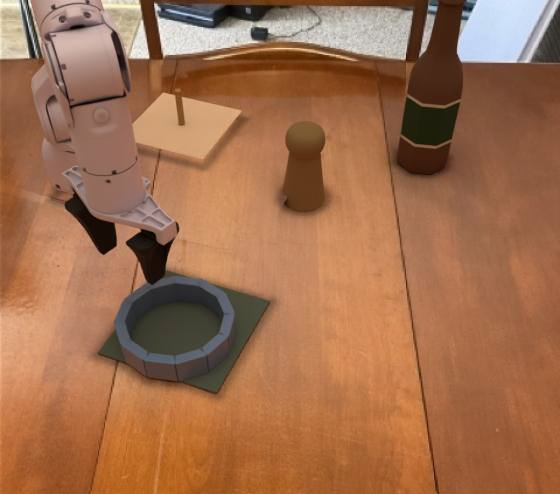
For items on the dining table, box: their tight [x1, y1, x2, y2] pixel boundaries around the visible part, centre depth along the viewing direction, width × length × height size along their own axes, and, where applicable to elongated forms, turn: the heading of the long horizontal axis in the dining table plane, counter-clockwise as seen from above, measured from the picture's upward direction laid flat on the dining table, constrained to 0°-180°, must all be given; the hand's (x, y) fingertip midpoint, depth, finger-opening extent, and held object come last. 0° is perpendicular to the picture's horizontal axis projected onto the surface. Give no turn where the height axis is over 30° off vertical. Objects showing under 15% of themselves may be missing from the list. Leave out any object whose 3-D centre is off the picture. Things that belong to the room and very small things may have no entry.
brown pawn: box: [282, 120, 326, 213], centre depth 91 cm, size 6×6×11 cm
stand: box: [132, 87, 243, 160], centre depth 102 cm, size 14×14×7 cm
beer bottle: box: [396, 0, 468, 175], centre depth 91 cm, size 8×8×24 cm
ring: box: [113, 276, 236, 382], centre depth 78 cm, size 13×13×3 cm
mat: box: [97, 269, 271, 395], centre depth 80 cm, size 15×15×1 cm
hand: (131, 264), depth 76 cm, fingers open, 7 cm apart
